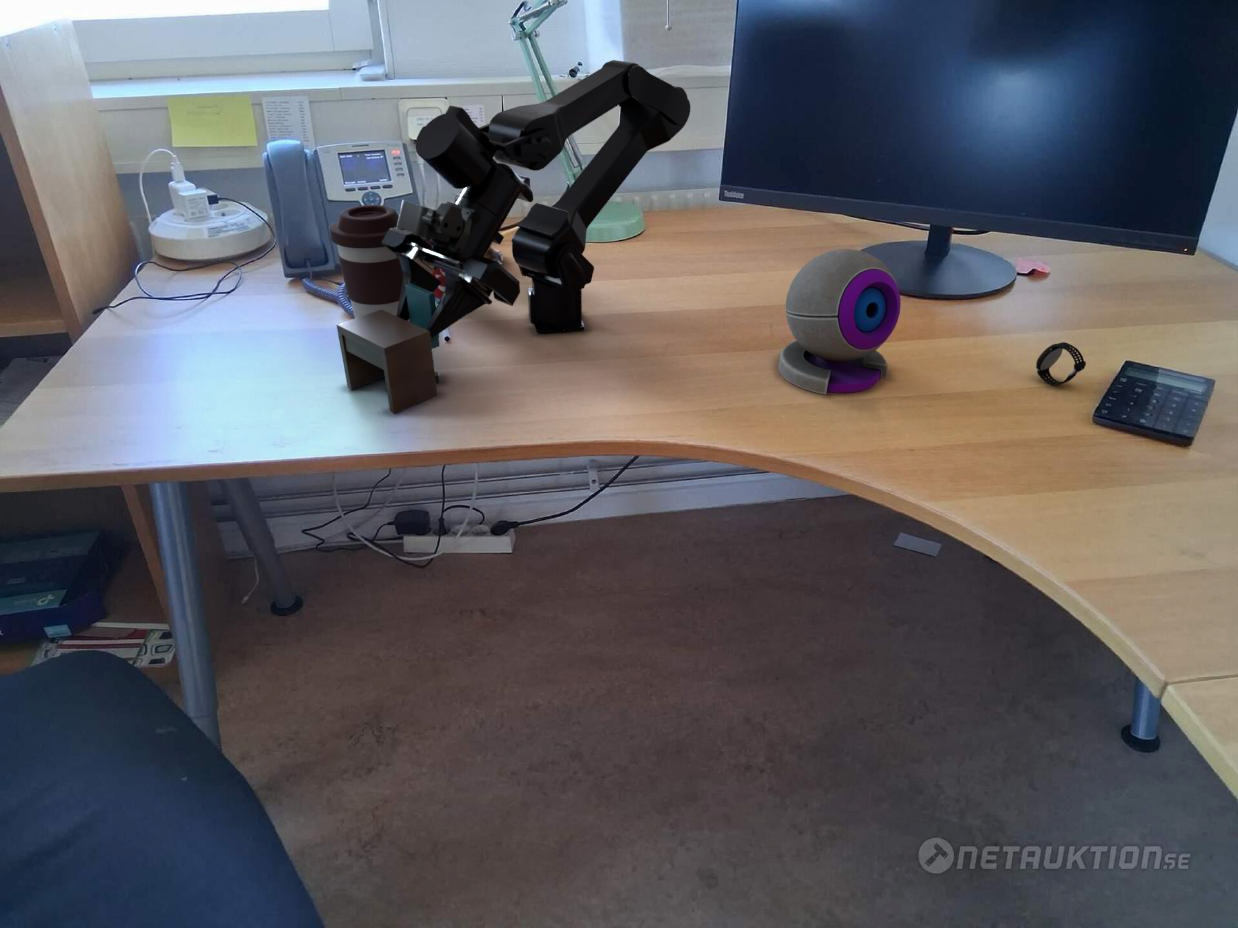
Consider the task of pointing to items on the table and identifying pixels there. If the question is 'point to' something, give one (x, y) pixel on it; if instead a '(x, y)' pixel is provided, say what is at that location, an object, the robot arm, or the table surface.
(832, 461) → the table surface
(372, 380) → the desk
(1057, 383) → the smartwatch
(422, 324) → the office chair
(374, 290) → the coffee cup
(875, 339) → the webcam
